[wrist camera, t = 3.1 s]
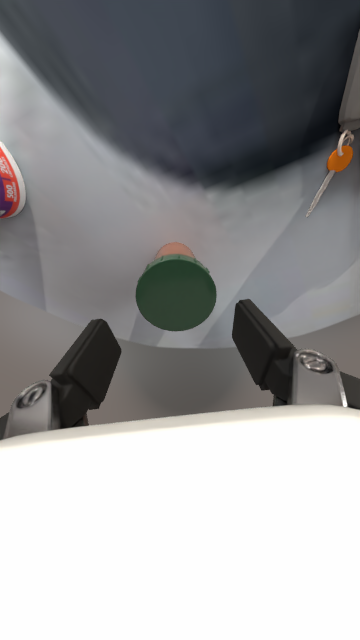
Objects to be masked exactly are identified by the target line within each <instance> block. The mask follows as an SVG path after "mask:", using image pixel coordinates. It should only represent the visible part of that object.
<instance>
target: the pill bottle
mask: <svg viewBox="0 0 360 640" xmlns="http://www.w3.org/2000/svg"><path fill="white" fill-rule="evenodd" d="M25 201H26V189H25V184H24V181H23V178H22V175H21V173H20V170H19V168H18V166H17V164H16V162H15V161H14V159H13V157H12V156H11V154H10V153H9V151H8V150H7V148H6V147H5V146H4V144H3V143H2V142H1V141H0V218H10V217H13V216H15V215H17V214H18V213H20V212H21V211H22V209H23V207H24V205H25Z"/></svg>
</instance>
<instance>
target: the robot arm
mask: <svg viewBox="0 0 360 640" xmlns="http://www.w3.org/2000/svg"><path fill="white" fill-rule="evenodd" d="M232 338H233V340H234V342H235V344H236V346H237V348H238V350H239V352H240V354H241V356H242V358H243V360H244V362H245V364H246V366H247V368H248V370H249V372H250V374H251V376H252V378H253V380H254V382H255V384H256V385H259V386H260V388H261V390H270V391H271V393H272V394H274V398H273V406H272V407H261V408H250V409H240V410H230V411H221V412H211V413H202V414H192V415H182V416H174V417H164V418H154V419H145V420H136V421H127V422H118V423H109V424H100V425H91V426H89V424H88V419H87V414H86V412H87V410H88V409H89V410H92V409H99V406H100V404H101V402H103V400H104V398H105V396H106V393H107V390H108V388H109V385H110V382H111V379H112V377H113V373H114V371H115V369H116V366H117V363H118V360H119V358H120V355H121V348H120V346H119V344H118V342H117V340H116V339H115V337H114V335H113V333H112V331H111V329H110V327H109V326H108V324H107V322H106V321H104V320H103V319H96V320H91V321H90V323H89V324H88V325H87V327H86V328H85V329H84V331H83V332H82V333H81V335H80V336H79V337H78V338H77V340H76V341H75V342H74V344H73V345H72V346H71V347H70V349H69V350H68V351H67V353H66V354H65V355H64V356H63V358H62V359H61V361H60V362H59V363H58V365H57V366H56V367H55V368H54V369H53V371H52V372H51V373H50V375H49V376H51V377H52V378H53V379H52V380H51V381H48V380H41V381H38V382H35V383H33V384H32V385H30V386H28V387H27V388H26V389H24V390H23V391H22V392H21V393H20V394H19V395H18V396H17V397H16V398H15V400H14V401H13V403H12V405H11V409H10V412H9V413H7V414H6V415H4V416H3V417H1V418H0V640H360V379H358V378H356V377H353V376H351V375H348V374H345V373H343V372H340V371H339V368H338V366H337V364H336V363H335V362H334V361H333V360H332V359H331V358H329V357H328V356H327V355H325V354H323V353H321V352H318V351H316V350H311V349H300V350H297V349H296V348H295V347H294V346H293V344H291V342H290V341H289V340H288V339H287V338H286V337H285V336H284V335H283V334H282V333H281V332H280V331H279V330H278V329H277V328H276V326H275V325H274V324H273V323H272V322H271V321H270V320H269V319H268V318H267V317H266V316H265V315H264V314H263V313H262V312H261V311H260V310H259V309H258V308H257V306H256V305H255V304H254V303H253V302H252V301H251V300H250V299H246V300H240V301H239V302H238V303H236V306H235V314H234V323H233V331H232Z"/></svg>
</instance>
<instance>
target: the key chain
mask: <svg viewBox="0 0 360 640" xmlns="http://www.w3.org/2000/svg"><path fill="white" fill-rule="evenodd" d="M338 123H339V124H340V125H341V126H340V130H339V131H340V132H342V135H341V137H340V140H339V143H338V148H337V149H336V150H335V151H334V152H333V153H332V154H331V156H330V157H329V159H328V162H327V168H328V170H330V171H329V173H328V175H327V177H326V178H325V180H324V182H323V184H322V186H321V188H320V189H319V191H318V192H317V194H316V196H315V198H314V200H313V202H312V204H311V206H310V208H309V210H308V212H307V214H306V216H305V217H308V216H309V215H310V213H311V212H312V210H313V208H314V207H315V206H316V204H317V203H318V201H319V198H320V197H321V195H322V193H323V192H324V191H325V189H326V187H327V186H328V183H329V181H330V180H331V178H332V176H333V175H334V173H335V172H339V171H342V170H343V169H345V168H346V167H347V166H348V164H349V163H350V162H351V159H352V157H353V150H352V147H350V146H349V142H350V137H351V138H352V139H351V142H350V143H352V141H353V139H354V135H351V131H353V130H356V129H359V128H360V30H359V34H358V38H357V42H356V46H355V50H354V54H353V58H352V62H351V66H350V70H349V74H348V78H347V83H346V87H345V91H344V95H343V99H342V103H341V107H340V112H339V120H338ZM345 134H347V135H348V136H347V137H346V138H345V139H344V140H343V138H344V136H345ZM347 138H349V142H348V143H347V145H344V146H342V143H343V142H344V141H345V140H346V139H347Z"/></svg>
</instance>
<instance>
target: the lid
mask: <svg viewBox="0 0 360 640" xmlns="http://www.w3.org/2000/svg"><path fill="white" fill-rule="evenodd" d="M209 273H210V272H209V271H208V269H207V268H205V267H204V266H203V265H202V264H201V263H200V262H199V261H198V260H196V258H195V257H194V258H192V257H190V256H187V255H183V254H179V253H178V254H169V255H165V256H163V255H162V256H161V257H159V258H158V259H156V260H154V261H153V262H152V263H150V264H148V265H147V267H146V269H145V270H144V272H143V274H142V276H141V277H140V278H139V280H138V285H137V288H136V302H137V306H138V308H139V310H140V312H141V314H142V315H143V316H144V318H145V319H146V320H147V321H149V322H150V323H151V324H153V325H154V326H156V327H158V328H161V329H164V330H168V331H184V330H188V329H191V328H194V327H196V326H198V325H199V324H201V323H202V322H203V321H205V320H206V319H207V318H208V316H209V315H210V314H211V312H212V310H213V308H214V306H215V302H216V286H215V284H214V281H213V279H212V277H211V276H210V274H209Z"/></svg>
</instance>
